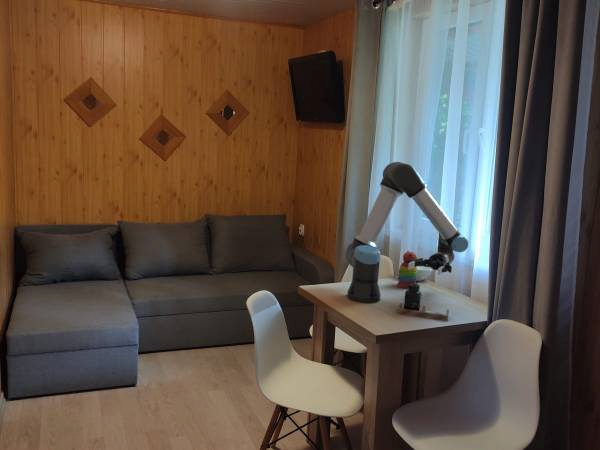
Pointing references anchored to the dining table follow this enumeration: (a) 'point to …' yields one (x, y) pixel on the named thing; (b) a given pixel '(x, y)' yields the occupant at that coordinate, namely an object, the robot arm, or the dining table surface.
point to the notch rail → (423, 313)
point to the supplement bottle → (412, 297)
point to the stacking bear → (407, 271)
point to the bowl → (423, 272)
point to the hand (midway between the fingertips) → (423, 269)
